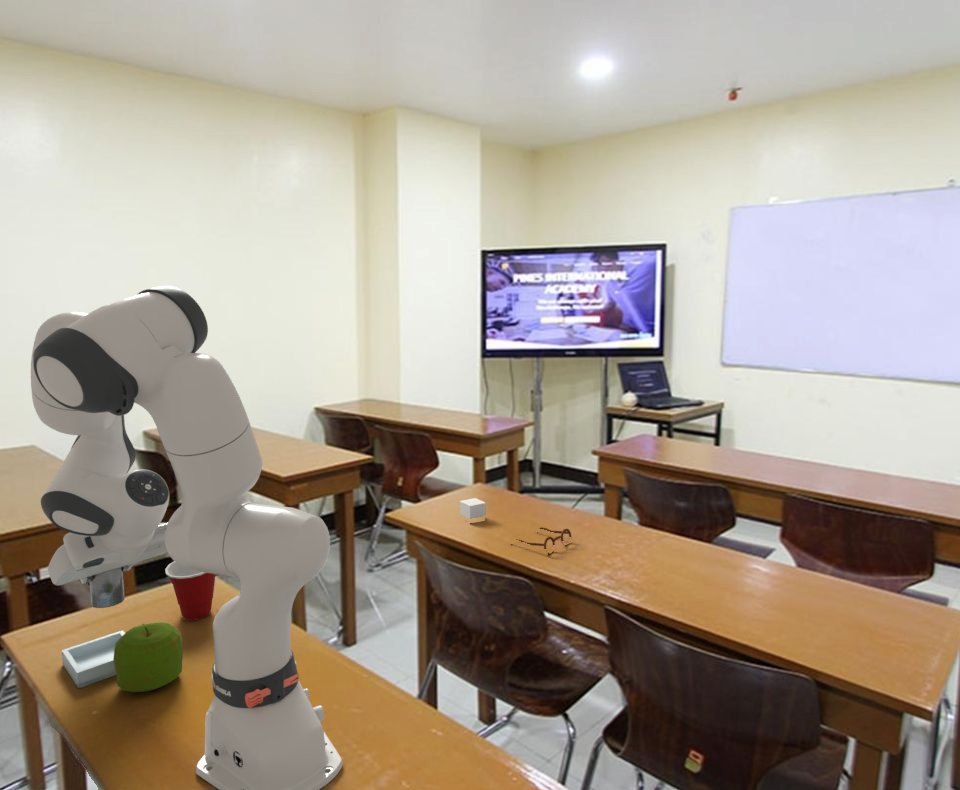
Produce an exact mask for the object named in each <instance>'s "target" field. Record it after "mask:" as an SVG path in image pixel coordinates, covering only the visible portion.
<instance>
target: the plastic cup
mask: <svg viewBox="0 0 960 790" xmlns="http://www.w3.org/2000/svg"><path fill="white" fill-rule="evenodd" d="M164 570H165V575H166V576H168V578H169V580H170V581H171V584H172V587H173V590H174V593H175V596H176V600H177V604H178V606H179V610H180V614H181V616H182V619H184V620H186V621H197V620H201V619H204V618H206V617H208V616H209V615H210V613H211V612H212V611H211V610H212V605H213V598H214V591H215V583H216V576H217V574H212V573H205V572H200V571H197V570H194V569H192V568H189V567H187V566H185V565H183V564H180V563H178V562H176V561H174V560H173V561H172V562H171V563H169V564H168V565H167V566H166V568H165V569H164Z"/></svg>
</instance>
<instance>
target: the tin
mask: <svg viewBox="0 0 960 790" xmlns="http://www.w3.org/2000/svg"><path fill="white" fill-rule="evenodd" d="M92 577H93V579H92V580H91V582H89V589H90V591H89V594H90V601H91V607H93V608H94V609H106V608H111V607H115V606H117V605H119V604H121V603H123V602H124V601H125V587H124V586H125V584H124V573H123V572H122V567H119V568H116V569H112V570H109V571H106V572H102V573H99V574H96V575H92Z"/></svg>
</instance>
